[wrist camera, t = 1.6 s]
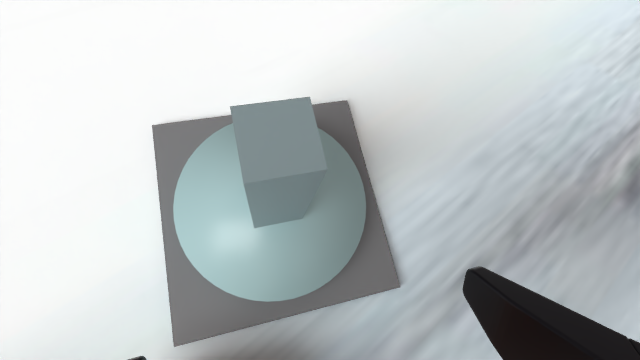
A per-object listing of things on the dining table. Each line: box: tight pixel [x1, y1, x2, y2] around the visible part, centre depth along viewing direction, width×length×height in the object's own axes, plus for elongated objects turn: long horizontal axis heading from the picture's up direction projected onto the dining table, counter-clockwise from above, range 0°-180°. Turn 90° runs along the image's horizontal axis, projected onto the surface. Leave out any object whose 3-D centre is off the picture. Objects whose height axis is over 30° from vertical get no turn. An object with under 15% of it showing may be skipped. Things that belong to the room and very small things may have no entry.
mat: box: [152, 100, 400, 347], centre depth 22 cm, size 14×14×1 cm
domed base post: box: [173, 97, 366, 302], centre depth 17 cm, size 12×12×10 cm
